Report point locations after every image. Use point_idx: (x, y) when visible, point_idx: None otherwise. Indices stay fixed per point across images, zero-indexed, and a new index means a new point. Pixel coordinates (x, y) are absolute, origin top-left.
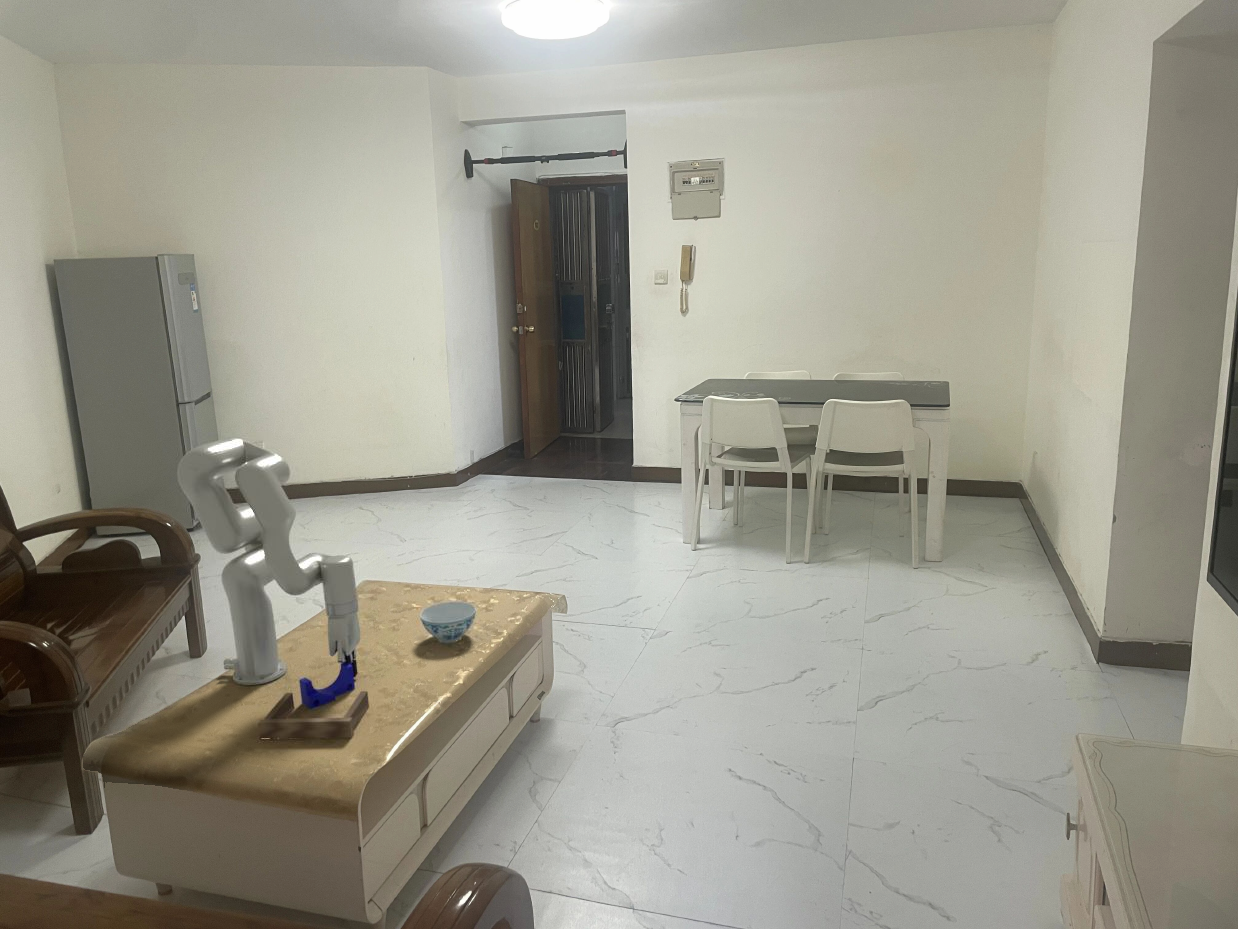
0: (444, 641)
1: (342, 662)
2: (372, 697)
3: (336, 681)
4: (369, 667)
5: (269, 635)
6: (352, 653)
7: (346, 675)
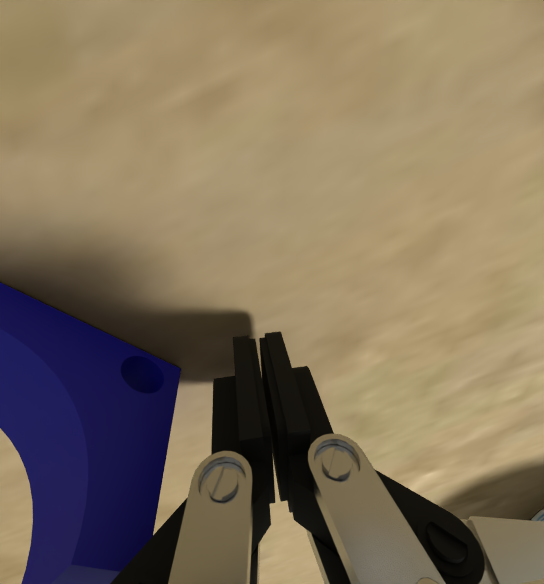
0: (540, 520)
1: (176, 513)
2: None
3: (46, 397)
4: (405, 378)
5: None
6: (327, 580)
7: (38, 523)
